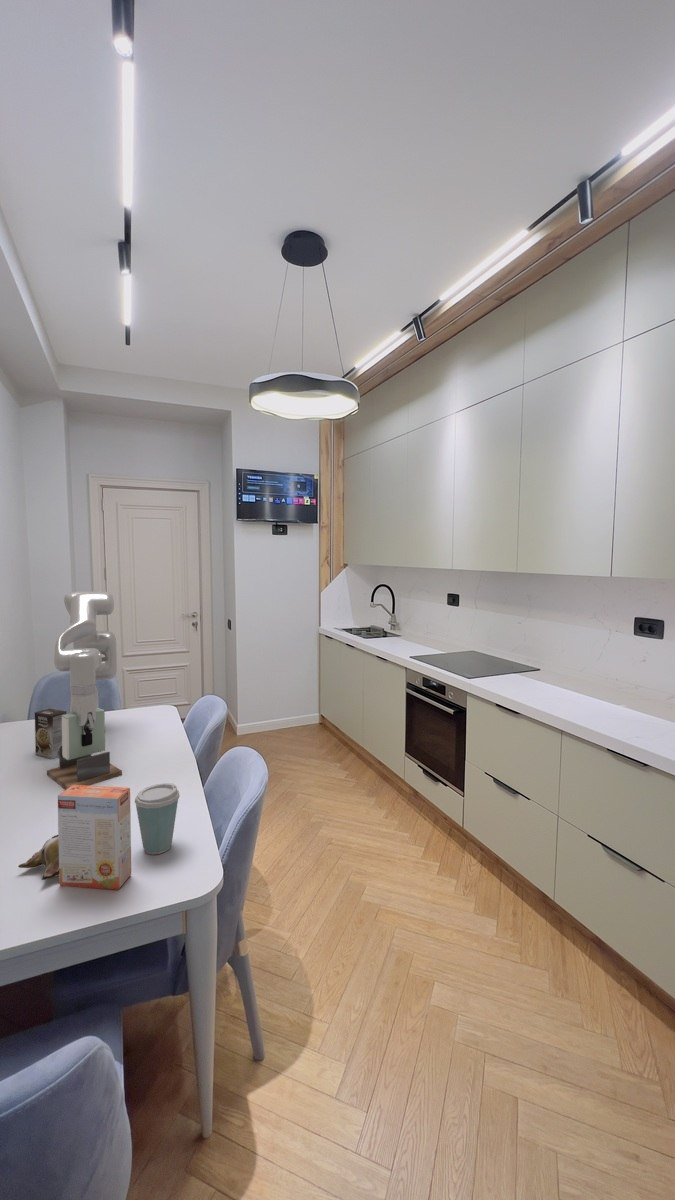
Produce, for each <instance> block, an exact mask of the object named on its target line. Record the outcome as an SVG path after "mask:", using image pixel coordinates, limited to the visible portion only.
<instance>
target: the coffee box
mask: <svg viewBox="0 0 675 1200" xmlns="http://www.w3.org/2000/svg"><path fill="white" fill-rule="evenodd" d="M65 714H68V713H67V711H64V710H60V709H54V708H47V709H43V710H39V711H35V712H34V733H35V734H34V739H35V741H34V744H35V755H36V756H39V757H43V758H47V759H52V760H53V759H56V758H59V748H61V747H62V715H65Z"/></svg>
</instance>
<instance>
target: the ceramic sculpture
mask: <svg viewBox="0 0 675 1200" xmlns="http://www.w3.org/2000/svg"><path fill="white" fill-rule="evenodd" d="M42 865H43V866H44V868H45V869H44V873H43V876H42V877H41V881H45V880H48V879H52V878H55V877H58V876H59V837H58V834H56V835H53V836H52V837H51V838H49V839H48V840H46V841H45V842H44V844H43V845H42V847H41V849H40V850H39V851H37V852H34V854H33V855H32V856H31V857H30V858H29V859H28V860H27V861H26V862H23V863H21V864H19V865H18V866H17V867H18V868H21V869H34V868H38V867H40V866H42Z"/></svg>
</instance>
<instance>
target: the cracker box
mask: <svg viewBox="0 0 675 1200" xmlns="http://www.w3.org/2000/svg"><path fill="white" fill-rule="evenodd" d="M131 817H132V816H131V787H123V786H108V785H107V786H102V785H72V786H71V787H69V788H68V789H66V790H65V789H64V791H62V792H60V793H58V795H57V828H58V831H57V832H58V834H57V835H58V837H59V875H58V878H59V885H60V886H64V887H65V886H67V887H78V888H79V887H80V888H81V887H82V888H93V889H103V890H104V889H106V890H116V891H117V890H120V888H121V887H122V886H123V885H124V884H125V882H127V880H128V879H129V878H130V877H131V876H132V835H131V833H132V830H131V826H132V825H131V823H132V821H131V820H132V819H131Z"/></svg>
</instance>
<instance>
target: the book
mask: <svg viewBox="0 0 675 1200" xmlns="http://www.w3.org/2000/svg"><path fill="white" fill-rule="evenodd" d="M105 717H106V715H105V709H103V708H101V707H99V708H96V721H95V723H94V728H93V733H92V745H88V746H84V747H83V746H82V738H81V735H82V734H83V732H82V727H80V726H78V725H77V715H75V714H73V713H70V712H69V713H67V714H65V715H62V756H63V758H65V759H66V760H71V759H74V758H78V757H82V756H86V755H90V754H91V755H93V754H94V755H95V754H98V753H102V752H105V751H106V731H105V730H106V729H105V728H106V720H105V719H106V718H105ZM86 724H88V722H87V723H86ZM87 727H88V726H86V727H85V729H86V728H87Z"/></svg>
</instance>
